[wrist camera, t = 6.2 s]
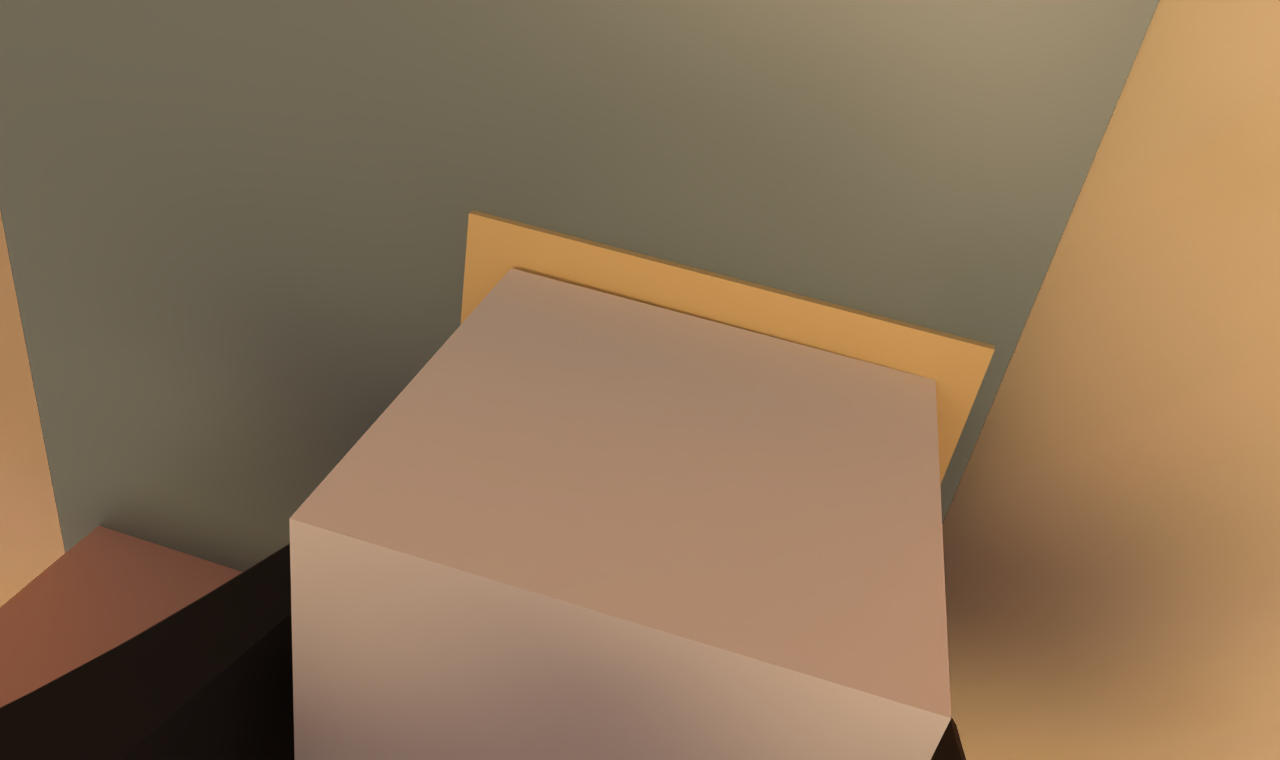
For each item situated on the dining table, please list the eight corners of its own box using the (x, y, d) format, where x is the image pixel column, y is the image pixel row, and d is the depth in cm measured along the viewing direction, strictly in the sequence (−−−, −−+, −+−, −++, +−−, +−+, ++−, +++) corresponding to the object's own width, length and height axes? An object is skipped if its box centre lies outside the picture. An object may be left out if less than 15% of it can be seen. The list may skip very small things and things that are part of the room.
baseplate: (142, 772, 19) (110, 811, 19) (-84, -636, 9) (-180, -679, 8) (738, 988, 18) (729, 1040, 17) (1311, -432, 7) (1355, -462, 7)
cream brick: (465, 674, 14) (299, 996, 10) (511, 268, 11) (289, 518, 7) (783, 774, 13) (733, 1151, 10) (935, 380, 10) (951, 718, 6)
